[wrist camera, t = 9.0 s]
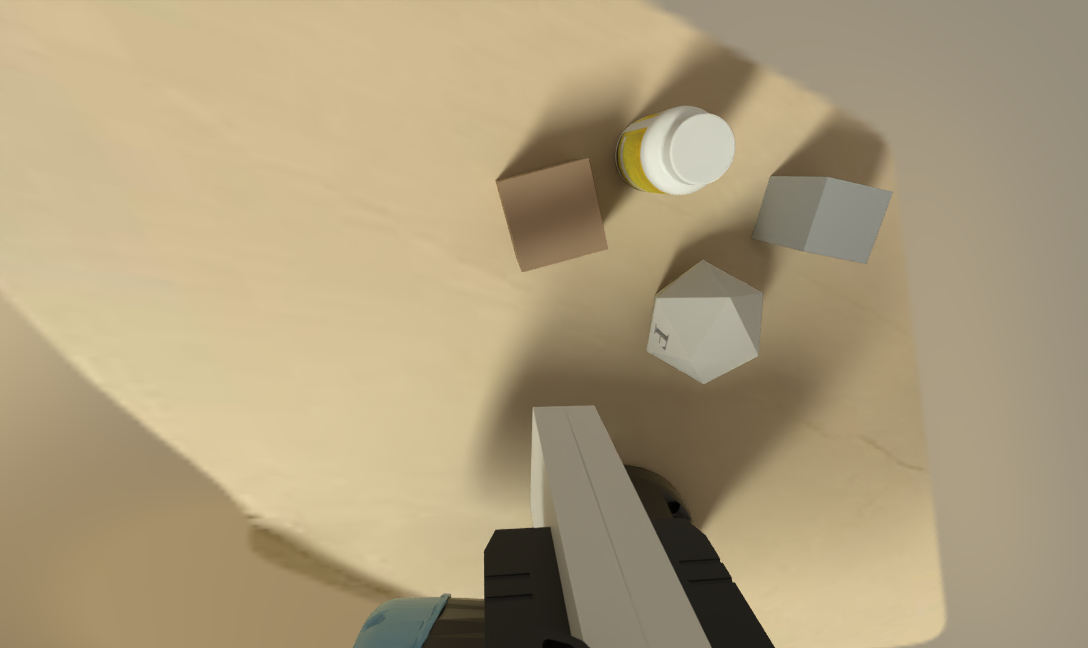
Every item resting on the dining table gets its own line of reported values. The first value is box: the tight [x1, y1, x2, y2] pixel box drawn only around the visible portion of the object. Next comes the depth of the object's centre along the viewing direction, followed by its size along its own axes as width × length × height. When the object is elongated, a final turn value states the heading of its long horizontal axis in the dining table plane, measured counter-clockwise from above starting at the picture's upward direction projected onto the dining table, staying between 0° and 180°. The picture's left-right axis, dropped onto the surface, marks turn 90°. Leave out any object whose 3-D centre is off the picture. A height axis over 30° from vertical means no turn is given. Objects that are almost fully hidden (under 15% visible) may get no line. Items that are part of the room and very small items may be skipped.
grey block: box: [751, 176, 893, 264], centre depth 38 cm, size 5×5×7 cm
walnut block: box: [496, 158, 608, 272], centre depth 36 cm, size 6×6×6 cm
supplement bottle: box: [615, 106, 735, 195], centre depth 34 cm, size 5×5×10 cm
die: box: [646, 260, 763, 384], centre depth 39 cm, size 8×9×10 cm
